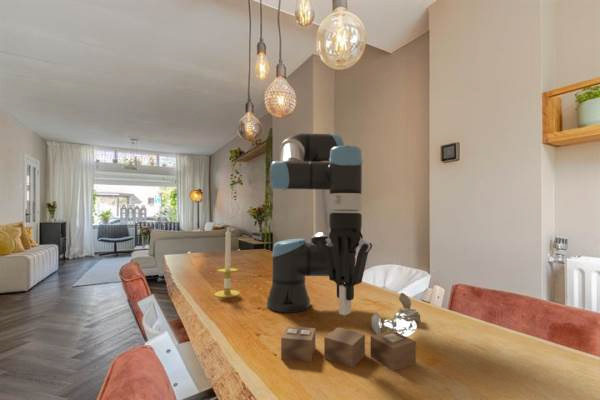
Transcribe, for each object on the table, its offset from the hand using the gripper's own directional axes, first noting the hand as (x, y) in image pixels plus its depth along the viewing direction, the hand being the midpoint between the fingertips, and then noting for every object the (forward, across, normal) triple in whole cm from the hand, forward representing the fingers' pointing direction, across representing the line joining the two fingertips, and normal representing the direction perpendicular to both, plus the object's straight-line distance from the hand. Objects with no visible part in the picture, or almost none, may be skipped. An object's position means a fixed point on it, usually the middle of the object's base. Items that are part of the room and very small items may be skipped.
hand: (345, 312), depth 71 cm
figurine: (+11, +3, +20) cm, 23 cm away
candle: (+10, -63, +12) cm, 65 cm away
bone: (+10, +3, +31) cm, 33 cm away
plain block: (+10, 0, 0) cm, 10 cm away
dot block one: (+10, +9, +6) cm, 15 cm away
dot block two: (+10, -9, -6) cm, 15 cm away
